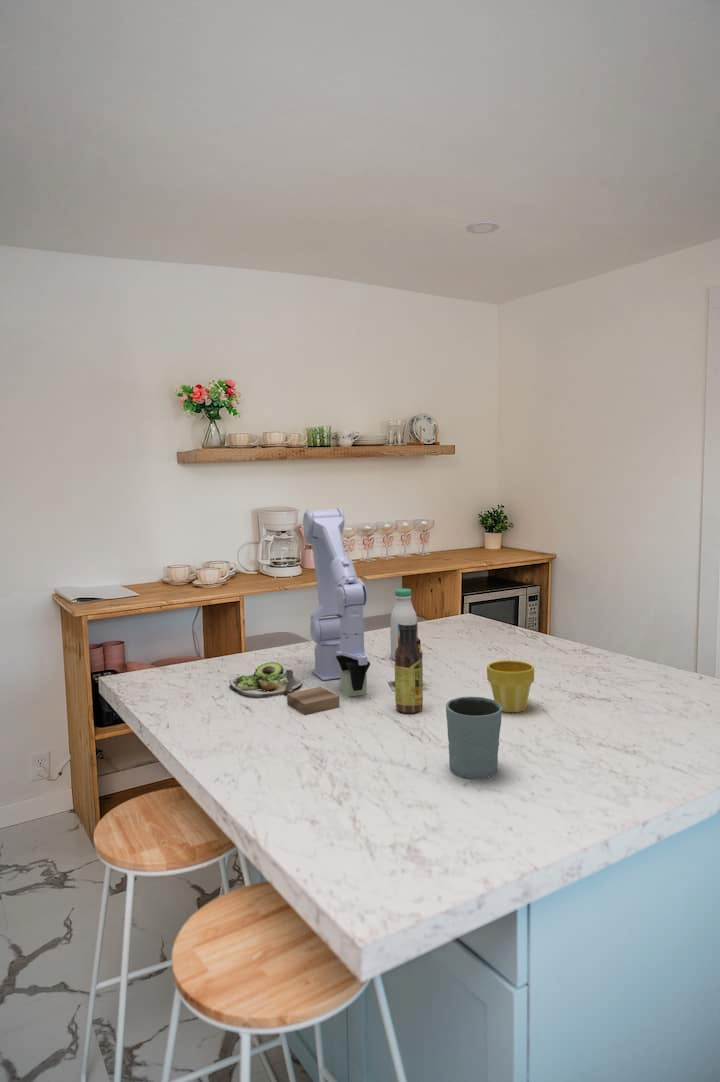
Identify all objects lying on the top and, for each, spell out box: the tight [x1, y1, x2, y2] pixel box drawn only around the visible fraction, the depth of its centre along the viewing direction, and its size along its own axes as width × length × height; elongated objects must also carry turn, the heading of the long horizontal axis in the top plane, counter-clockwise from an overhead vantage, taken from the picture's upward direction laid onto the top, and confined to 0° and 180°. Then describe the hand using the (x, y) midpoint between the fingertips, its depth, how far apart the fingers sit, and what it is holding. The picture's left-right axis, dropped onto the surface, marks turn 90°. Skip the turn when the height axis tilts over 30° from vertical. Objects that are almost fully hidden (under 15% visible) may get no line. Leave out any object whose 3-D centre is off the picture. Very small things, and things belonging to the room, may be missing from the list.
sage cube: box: [339, 670, 368, 698], centre depth 177 cm, size 5×5×5 cm
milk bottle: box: [389, 588, 419, 661], centre depth 206 cm, size 8×8×20 cm
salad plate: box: [229, 661, 303, 698], centre depth 183 cm, size 19×18×5 cm
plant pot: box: [486, 659, 535, 714], centre depth 163 cm, size 10×10×10 cm
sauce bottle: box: [394, 622, 424, 714], centre depth 163 cm, size 7×6×20 cm
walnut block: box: [286, 686, 341, 716], centre depth 169 cm, size 9×9×3 cm
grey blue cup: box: [445, 696, 503, 779], centre depth 131 cm, size 10×10×12 cm
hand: (353, 686), depth 177 cm, fingers closed on sage cube, 5 cm apart
